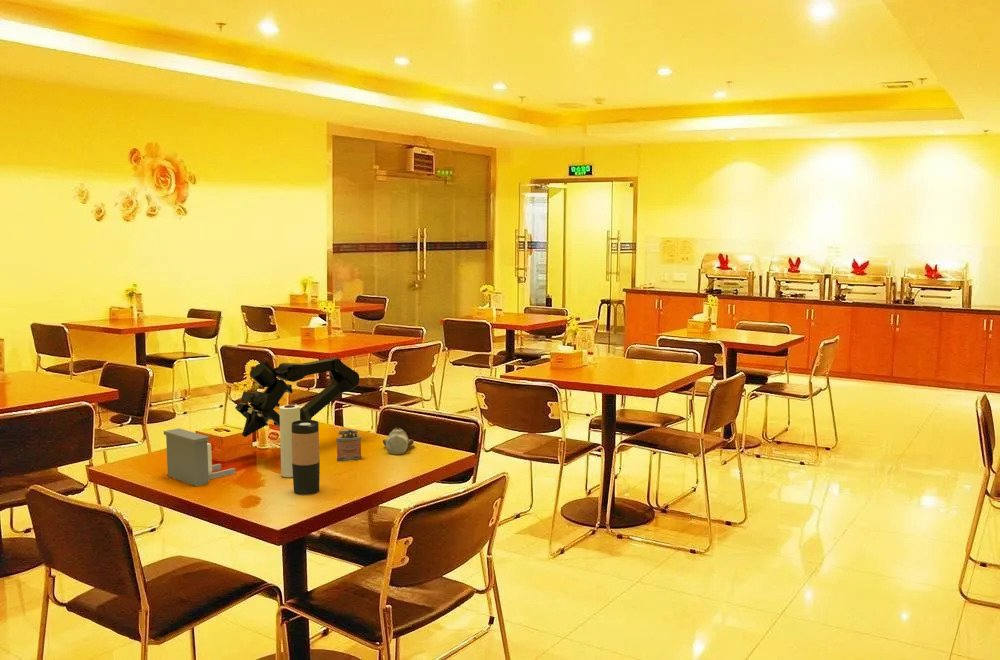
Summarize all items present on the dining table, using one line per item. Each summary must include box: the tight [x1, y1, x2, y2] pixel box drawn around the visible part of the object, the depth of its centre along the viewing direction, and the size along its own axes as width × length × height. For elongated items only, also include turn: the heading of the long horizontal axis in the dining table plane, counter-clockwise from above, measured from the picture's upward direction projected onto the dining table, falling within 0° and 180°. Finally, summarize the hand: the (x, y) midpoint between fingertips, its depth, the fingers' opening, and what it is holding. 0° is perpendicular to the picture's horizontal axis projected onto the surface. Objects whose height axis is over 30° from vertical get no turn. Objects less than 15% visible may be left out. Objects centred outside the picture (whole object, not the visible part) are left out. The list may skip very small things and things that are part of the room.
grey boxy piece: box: [163, 428, 236, 487], centre depth 261 cm, size 16×17×14 cm
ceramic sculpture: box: [382, 426, 415, 455], centre depth 293 cm, size 11×9×15 cm
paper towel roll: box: [278, 403, 301, 478], centre depth 262 cm, size 7×6×21 cm
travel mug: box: [292, 419, 321, 496], centre depth 246 cm, size 8×8×20 cm
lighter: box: [335, 428, 362, 462], centre depth 281 cm, size 8×3×10 cm, turn 108°
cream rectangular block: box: [207, 442, 213, 474], centre depth 260 cm, size 4×6×10 cm
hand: (243, 436), depth 271 cm, fingers closed
